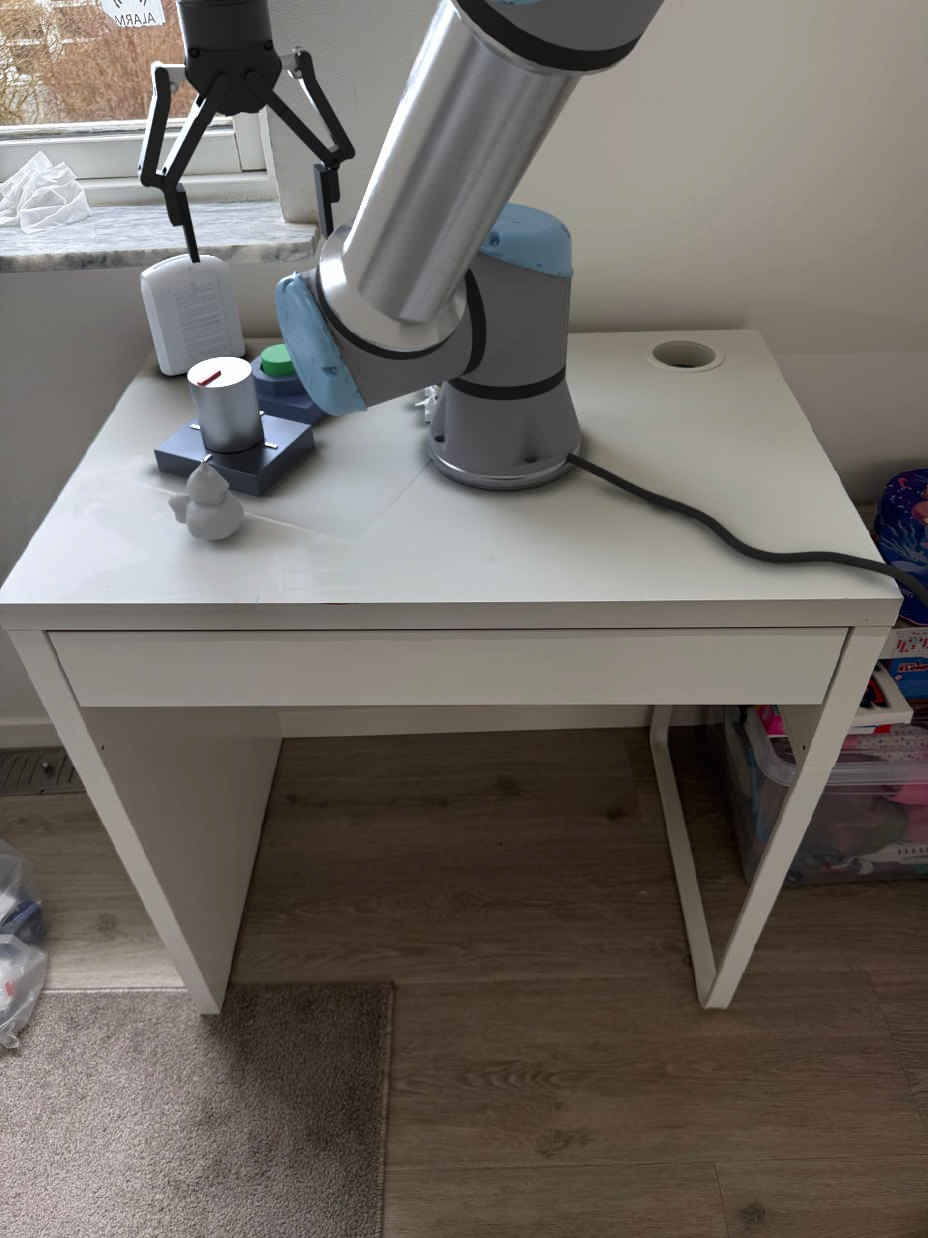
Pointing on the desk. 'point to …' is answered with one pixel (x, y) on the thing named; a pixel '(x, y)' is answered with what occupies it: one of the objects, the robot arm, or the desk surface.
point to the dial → (226, 404)
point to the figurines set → (430, 401)
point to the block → (284, 396)
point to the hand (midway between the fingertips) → (262, 247)
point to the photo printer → (191, 312)
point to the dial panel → (239, 455)
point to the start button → (277, 361)
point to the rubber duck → (207, 505)
